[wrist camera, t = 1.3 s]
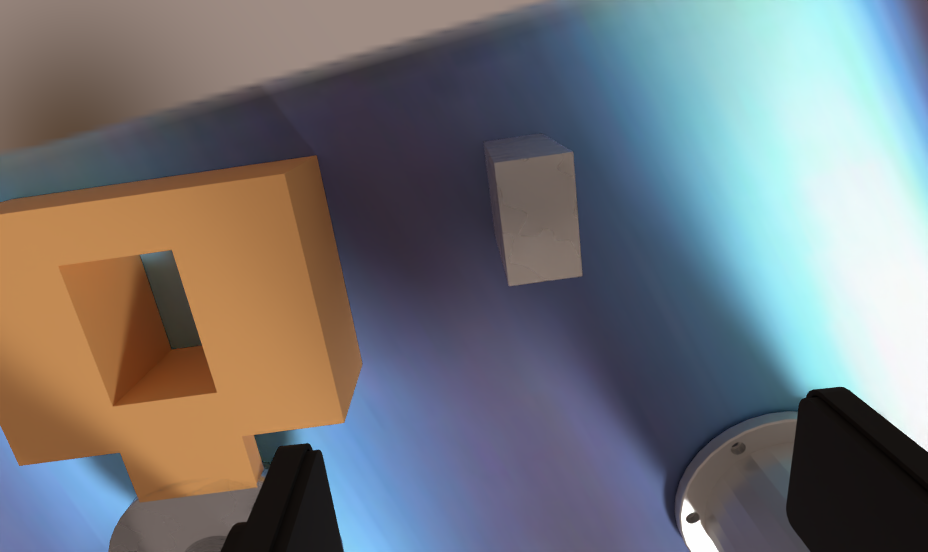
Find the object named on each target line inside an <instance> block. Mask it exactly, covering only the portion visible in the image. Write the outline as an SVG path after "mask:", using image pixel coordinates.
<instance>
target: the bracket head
mask: <svg viewBox="0 0 928 552" xmlns="http://www.w3.org/2000/svg"><path fill="white" fill-rule="evenodd" d="M168 250H172V252H173V255H174V258H175V261H176V265H177V268H178V271H179V274H180V277H181V280H182V283H183V287H184V290H185V293H186V296H187V299H188V302H189V305H190V309H191V312H192V315H193V318H194V321H195V324H196V328H197V331H198V334H199V337H200V340H201V343H202V345H201V346H194V347H187V348H179V349H171V346H170V343H169V340H168V337H167V334H166V332H165V329H164V326H163V323H162V320H161V317H160V314H159V311H158V308H157V305H156V302H155V299H154V296H153V293H152V290H151V287H150V284H149V281H148V278H147V275H146V272H145V269H144V266H143V263H142V261H141V258H140V254H147V253H154V252H161V251H168ZM361 367H362V360H361V355H360V350H359V346H358V341H357V337H356V332H355V328H354V323H353V319H352V314H351V309H350V305H349V300H348V296H347V291H346V287H345V282H344V277H343V273H342V268H341V264H340V259H339V255H338V250H337V246H336V241H335V236H334V232H333V227H332V223H331V218H330V214H329V209H328V205H327V200H326V195H325V191H324V186H323V182H322V177H321V173H320V168H319V163H318V159H317V155H316V156H309V157H302V158H295V159H288V160H281V161H274V162H267V163H260V164H253V165H246V166H239V167H232V168H226V169H219V170H212V171H205V172H198V173H191V174H184V175H177V176H170V177H163V178H156V179H149V180H142V181H135V182H128V183H121V184H114V185H107V186H100V187H93V188H86V189H80V190H73V191H66V192H59V193H52V194H45V195H38V196H31V197H24V198H17V199H11V200H7V201H4V202H0V426H1V428H2V430H3V432H4V434H5V436H6V438H7V440H8V443H9V445H10V447H11V449H12V451H13V453H14V455H15V458H16V460H17V462H18V464H19V466H22V465H29V464H37V463H45V462H52V461H60V460H67V459H75V458H82V457H90V456H97V455H105V454H113V453H120V454H121V456H122V459H123V462H124V464H125V467H126V469H127V472H128V474H129V477H130V479H131V482H132V484H133V487H134V489H135V492H136V494H137V497H138V499H139V502H140V503H141V502H149V501H157V500H164V499H172V498H180V497H187V496H193V495H194V496H195V494H197V495H198V494H199V495H203V494H209V493H211V492H212V491H214V492H212V493H218V491H219V492H222V491H223V492H226V491H230V489H231V490H232V491H233V490H234V489H236V490H238V489H239V488H240V489H239V490H241V489H249V488H251V487H252V488H253V487H254V488H256V487H257V482H258V480H259V478H260V476H261V474H262V472H263V470H264V467H263V464H262V460H261V457H260V454H259V450H258V447H257V444H256V440H255V437H254V435H256V434H264V433H271V432H279V431H286V430H294V429H302V428H309V427H317V426H324V425H332V424H339V423H344V422H345V419H346V415H347V412H348V409H349V406H350V403H351V399H352V396H353V393H354V390H355V386H356V383H357V380H358V377H359V374H360V370H361ZM197 478H198V479H197ZM205 478H206V479H205ZM221 479H222V480H221ZM228 479H229V480H228ZM188 480H189V481H188ZM180 481H181V482H180ZM198 481H199V482H198ZM221 481H222V482H221ZM228 481H229V483H228ZM175 482H176V483H175ZM215 482H216V483H215ZM217 482H218V483H217ZM223 482H224V483H223ZM226 482H227V483H226ZM232 482H233V483H232ZM235 482H236V483H235ZM238 482H239V483H238ZM241 483H242V484H241ZM250 483H251V484H250ZM169 484H170V486H169V487H168V485H169ZM173 484H174V486H173ZM176 484H178V485H176ZM185 484H186V485H185ZM221 484H222V485H223V487H222V486H221ZM229 484H230V486H229ZM249 484H250V485H249ZM166 485H167V486H166ZM179 485H180V486H179ZM204 485H206V486H204ZM209 485H210V486H211V487H210V486H209ZM212 485H213V486H212ZM214 485H217V486H214ZM219 485H220V486H219ZM224 485H226V486H224ZM227 485H228V486H227ZM235 485H236V486H235ZM237 485H240V486H237ZM242 485H243V486H242ZM234 486H235V487H234ZM244 486H245V487H244ZM248 486H249V487H248ZM160 487H161V488H160ZM165 487H167V488H165ZM174 487H175V488H174ZM214 487H215V488H214ZM221 487H222V488H223V489H224V490H223V489H222V490H221ZM224 487H225V488H224ZM226 487H227V488H226ZM228 487H229V488H228ZM238 487H239V488H238ZM172 488H173V489H172ZM207 488H208V489H209V490H208V489H207ZM217 488H218V489H217ZM237 488H238V489H237ZM169 489H170V490H169ZM213 489H214V490H213ZM227 489H229V490H227ZM160 490H161V491H162V492H161V491H160ZM164 490H165V491H164ZM193 490H194V491H196V490H198V491H200V492H198V491H196V492H195V493H194V492H192V491H193ZM216 490H217V492H216ZM203 491H205V492H203ZM206 491H207V492H206ZM209 491H210V492H209ZM151 492H152V493H151ZM153 492H154V493H153ZM187 492H188V493H187ZM152 494H154V495H152ZM185 494H186V496H185ZM187 494H188V495H187ZM147 495H148V497H147ZM149 495H150V496H149ZM156 495H157V496H156ZM182 495H183V496H182ZM144 498H145V499H144ZM146 498H147V499H146Z"/></svg>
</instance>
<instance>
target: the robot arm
mask: <svg viewBox="0 0 928 552" xmlns="http://www.w3.org/2000/svg"><path fill="white" fill-rule="evenodd" d="M675 517H676V522H677V527H678V530H679V532H680V534H681V536H682V538H683V540H684V542H685V544H686V546H687V548H688V549H689V551H690V552H928V452H927V451H926V450H924V449H923V448H922V447H921V446H919V445H918V444H917V443H916V442H914V441H913V440H912V439H910V438H909V437H908V436H907V435H905V434H904V433H903V432H902V431H900V430H899V429H898V428H896V427H895V426H894V425H893V424H891V423H890V422H889V421H888V420H886V419H885V418H884V417H883V416H881V415H880V414H879V413H877V412H876V411H875V410H874V409H872V408H871V407H870V406H869V405H867V404H866V403H865V402H863V401H862V400H861V399H860V398H858V397H857V396H856V395H855V394H853V393H852V392H851V391H850V390H848V389H846V388H844V387H834V388H825V389H815V390H811V391H809V393H808V394H807V396H806V398H804V399H802V400H801V401H800V403H799V408H798V412H796V411H785V412H778V413H770V414H765V415H762V416H758V417H755V418H751V419H748V420H746V421H744V422H742V423H739V424H737V425H735V426H733V427H731V428H729V429H727V430H726V431H724V432H723V433H721V434H720V435H718V436H717V437H715V438H714V439H712V440H711V441H710V442H709V443H708V444H707V445H706V446H705V447H704V448H703V449H702V450H701V451H700V452H698V454H697V455H696V456H695V458H694V459H693V460H692V462H691V463H690V464H689V466H688V467H687V469H686V471H685V473H684V475H683V477H682V479H681V481H680V483H679V486H678V490H677V494H676V497H675ZM220 552H344V551H343V547H342V542H341V538H340V533H339V528H338V524H337V519H336V515H335V510H334V505H333V501H332V496H331V492H330V487H329V482H328V478H327V473H326V469H325V464H324V460H323V455H322V452H321V451H320V450H312V447H311V445H310V444H308V443H306V444H297V445H287V446H280V447H278V449H277V451H276V453H275V455H274V458H273V460H272V463H271V465H270V467H269V470H268V472H267V475H266V477H265V479H264V482H263V484H262V487H261V489H260V491H259V494H258V496H257V498H256V501H255V503H254V506H253V508H252V510H251V513H250V515H249V518H248V520H247V522H238V523H236V524H235V525H233V526H232V528H231V530H230V531H229V533H228V535H227V538H226V540H225V542H224V544H223V547H222V549H221V551H220Z"/></svg>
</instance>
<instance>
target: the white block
mask: <svg viewBox="0 0 928 552" xmlns="http://www.w3.org/2000/svg"><path fill="white" fill-rule="evenodd" d="M483 144H484V152H485V160H486V168H487V176H488V184H489V192H490V200H491V208H492V216H493V224H494V232H495V238H496V241H497V245H498V249H499V252H500V256H501V259H502V263H503V267H504V270H505V274H506V277H507V281H508V285H509V286H514V285H521V284H529V283H536V282H543V281H551V280H558V279H565V278H572V277H580V276H582V263H581V250H580V236H579V223H578V209H577V196H576V183H575V169H574V156H573V151H571V150H569V149H568V148H566V147H564V146H563V145H561V144H559V143H557V142H556V141H554V140H552V139H551V138H549V137H547V136H546V135H544V134H542V133H539V134H532V135H525V136H518V137H511V138H504V139H497V140H490V141H483Z"/></svg>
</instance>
